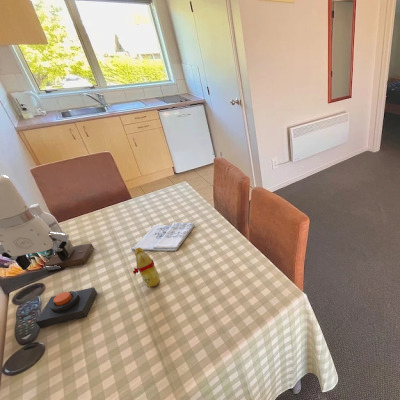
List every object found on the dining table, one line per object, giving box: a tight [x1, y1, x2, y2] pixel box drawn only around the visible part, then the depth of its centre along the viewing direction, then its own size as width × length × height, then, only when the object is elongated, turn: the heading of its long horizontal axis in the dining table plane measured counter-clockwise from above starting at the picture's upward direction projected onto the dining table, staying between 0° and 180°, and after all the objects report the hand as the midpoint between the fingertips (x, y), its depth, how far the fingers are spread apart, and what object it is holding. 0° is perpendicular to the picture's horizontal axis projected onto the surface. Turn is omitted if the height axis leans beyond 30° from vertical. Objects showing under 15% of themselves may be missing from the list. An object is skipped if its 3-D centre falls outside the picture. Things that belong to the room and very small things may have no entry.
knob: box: [65, 239, 74, 258], centre depth 106 cm, size 6×2×5 cm, turn 19°
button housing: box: [35, 286, 99, 329], centre depth 86 cm, size 12×10×5 cm
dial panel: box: [44, 242, 95, 272], centre depth 108 cm, size 12×10×3 cm
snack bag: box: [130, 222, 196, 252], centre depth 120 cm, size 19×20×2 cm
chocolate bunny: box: [132, 247, 161, 288], centre depth 95 cm, size 7×11×15 cm, turn 41°
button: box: [53, 291, 72, 306], centre depth 85 cm, size 4×4×2 cm
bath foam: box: [29, 203, 66, 242], centre depth 112 cm, size 7×7×20 cm
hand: (46, 262), depth 83 cm, fingers open, 9 cm apart
